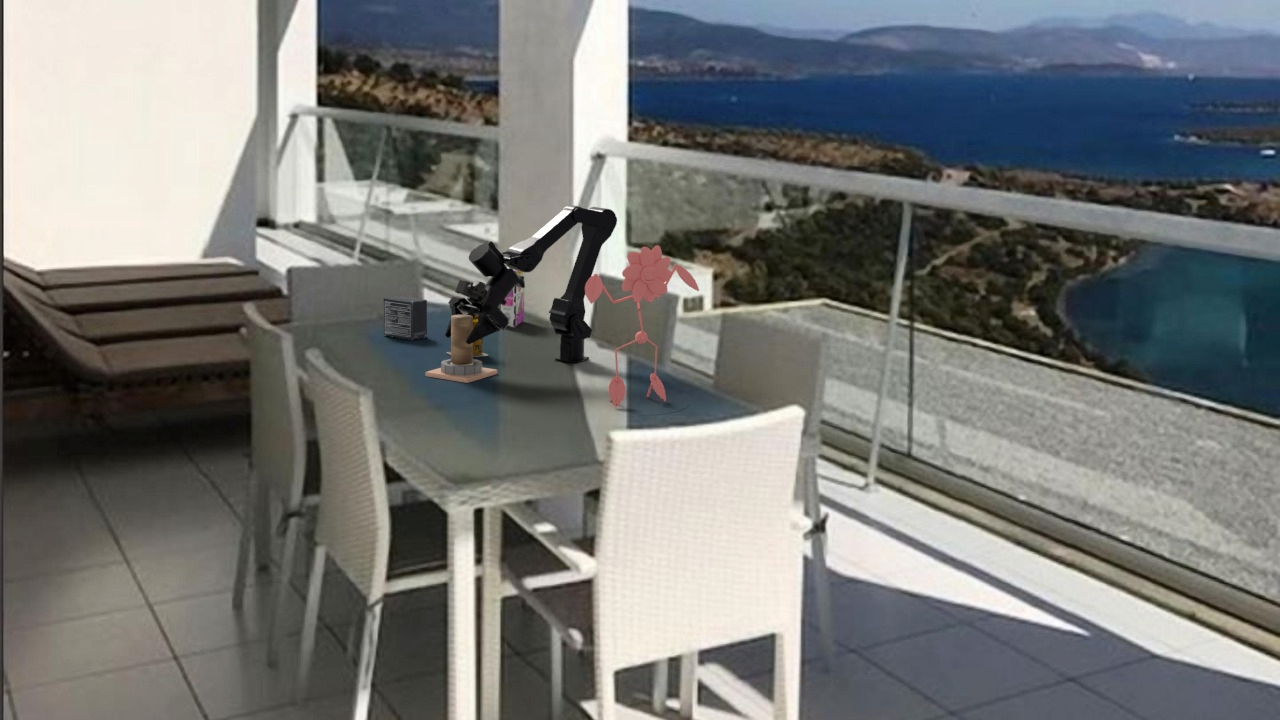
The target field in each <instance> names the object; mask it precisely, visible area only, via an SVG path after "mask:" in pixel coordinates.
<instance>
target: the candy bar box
mask: <svg viewBox="0 0 1280 720" xmlns="http://www.w3.org/2000/svg"><path fill="white" fill-rule="evenodd" d="M506 267H507V268H508V269H510V268H509V267H508V266H506ZM514 271H515V272H516V274H517V275H519V276H523V277H524V283H525V282H526V280H525V279H526V272H522V271H517V270H514ZM525 288H526V286H525V287H524V288H521V287H517V286H515V287H514V288H513V289H512V291H511V292H510V293H509V294H508V296H507V297H506V298H505V300H506V302H507V303H506V304H505V305H502V304H500V306H499V309H500V310H501V311H502V312H503V313H504V314H505V315H506V316H507V317H508V319H509V324H508V326H507V327H506V328H513V329H515V328H516V327H518V326H519V325H520V324H522V323H523V322H524V319H525Z"/></svg>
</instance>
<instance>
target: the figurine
mask: <svg viewBox="0 0 1280 720" xmlns="http://www.w3.org/2000/svg"><path fill="white" fill-rule="evenodd" d="M626 259H627V261H628V263H629V265H627V266H626V267H625V268H624V269H623V271H622V272H621V273H622V277H624V280H623V281H622V284H621V290H622V291H623V292H630V291H632V295H628V296H626V297H621V298H620V299H616V300H614V299H613V297H612V296H611V294H610V293H609V292H608V290H607V288H606V287H605V285H604V283H603V281H602V278H601V277H600V276H599V275H598V273H594V274H593V275H592V276H591V277H590V278H589V279H588V281H587V282H586V285H585V296H586V298H587V300H588V301H589V303H590V304H591V305H592V304H594V303H595V302H596V301H597V300H598V299H599V298H600V297H601V294H602V293H603V291H604V292H605V294H606V296H607V297H608V298H609V300H610V301H611V303H612V304H613V305H615V304H617V303H620V302H623V301H626V300H629V299H631V298H632V299H633V302H634V303H637V313H638V320H639V324H640V331H637V332H636V334H635V336H634V340H632V341H630V342H628V343H626V344H623V345H620V346H619V347H617V348H615V349H614V356H615V371H616V373H615V375H616V376H615V377H612V378H611V380H610V382H609V385H608V395H609V398H610V399H609V401H610V402H611V401H612V404H613V405H614V407H615V408H617V407H618V406H619V405H620V404H621V403H622V402H623V400H624V399H625V396H626V385H625V381H624V380H623V379H622V377H620V376H619V369H618V368H619V367H618V350H620V349H622V348H625V347H627V346H629V345H631V344H634V343H636V342H637V344H639V345H640V344H641V345H643V344H645V343H646V342H648V343H650V344H651V345H653V346H654V347H655V353H654V354H655V356H654V373H651V374H650V375H649V379H650V385H649V388H648V391H647V394H646V397H650V394H651V392H652V389H653V391H654V392H655V394H657V396H658V397H659V398H660V399H661V400H663V402H667V396H666V389H665V387H664V384H663V382H662V380H661V379H660V378H659V376H658V375H657V362H658V359H657V358H658V345H656V343H654V342H652V341H651V340H650V339H648V336H649V335H648V334H647V333H646V332H645V331H644V327H643V319H642V310H641V303H640V302H641V301H642V300H644V301H646V302H647V303H652V302H654V300H655V298H661V296H663V295H666V294H667V292H668V284H669V282H670V281H671V278H672V277H673V275H674V273H675V271H676V273H677V275H678V277H679V278H680V279H681V280H682V281H683V283H685V284H686V285H687V286H688V287H689V288H691V289H693V290H695V291H697V292H700V289H699V286H698V283H697V282H696V279H695V278H694V277H693V275H692V274H691V273H690V272H689V271H688V270H687V269H686V268H685V267H683V266H682V265H679V264H677V263H674V265H673V269H671V270H670V269H669V268H670V265H671V257H669V256H665V257H663V251H662V249H661V247H660V245H655V246H654V247H652V249H650V248H649V247H648V246H642V247H641V248H640V252H638V251H630V252H629V253H628V254H627V255H626Z"/></svg>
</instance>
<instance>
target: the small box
mask: <svg viewBox="0 0 1280 720" xmlns="http://www.w3.org/2000/svg"><path fill="white" fill-rule="evenodd" d="M384 335H388V336H393V337H398V338H397V339H400V338H403V339H402V340H406V339H408V341H416V340H415V339H417V340H420V338H422V339H425V338H424V337H426V338H428V300H427V299H424V298H422V299H421V298H415V297H414V298H413V297H408V296H401V295H399V296H398V295H397V296H389V297H384V298H383V336H384ZM393 337H392V338H393Z"/></svg>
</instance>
